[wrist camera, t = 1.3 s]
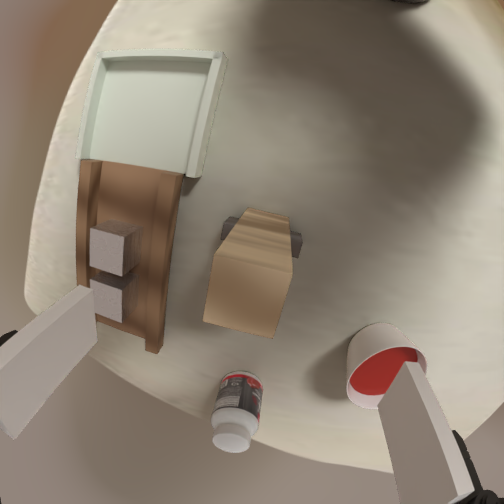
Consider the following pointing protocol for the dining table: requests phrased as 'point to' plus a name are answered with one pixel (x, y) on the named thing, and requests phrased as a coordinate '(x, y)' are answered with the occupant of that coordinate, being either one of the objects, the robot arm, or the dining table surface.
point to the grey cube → (115, 246)
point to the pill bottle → (236, 411)
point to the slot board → (153, 237)
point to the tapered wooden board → (252, 273)
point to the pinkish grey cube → (115, 294)
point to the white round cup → (377, 362)
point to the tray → (152, 108)
